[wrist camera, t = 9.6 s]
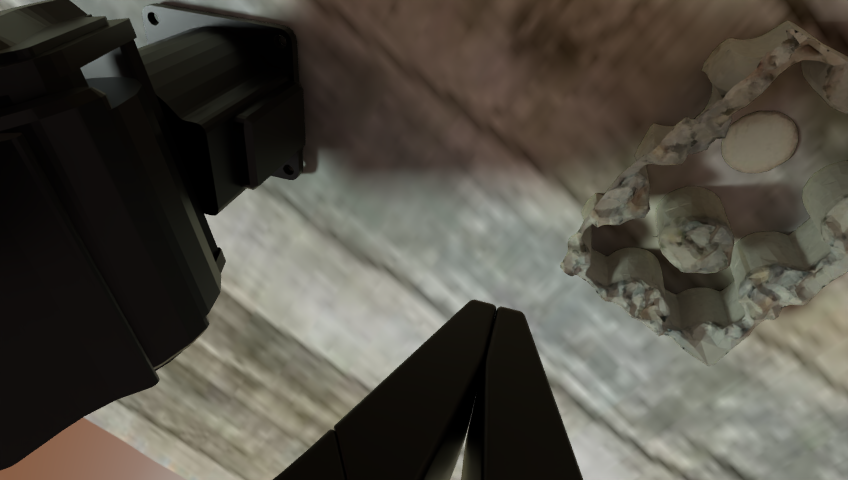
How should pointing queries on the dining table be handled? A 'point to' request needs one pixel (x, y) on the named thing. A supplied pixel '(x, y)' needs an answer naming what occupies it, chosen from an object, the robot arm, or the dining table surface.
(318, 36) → the dining table surface
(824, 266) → the egg carton
